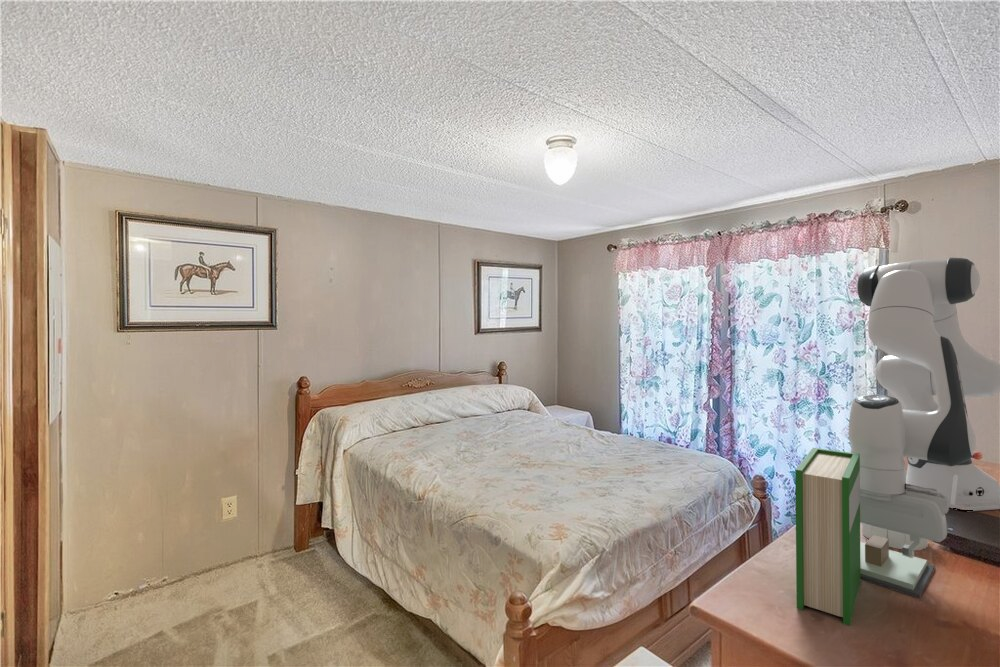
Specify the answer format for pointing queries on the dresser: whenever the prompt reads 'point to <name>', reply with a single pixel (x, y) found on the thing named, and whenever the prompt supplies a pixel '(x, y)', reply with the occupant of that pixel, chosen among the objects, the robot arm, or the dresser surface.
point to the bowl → (891, 537)
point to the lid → (889, 563)
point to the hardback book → (828, 532)
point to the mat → (916, 592)
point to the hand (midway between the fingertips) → (877, 547)
